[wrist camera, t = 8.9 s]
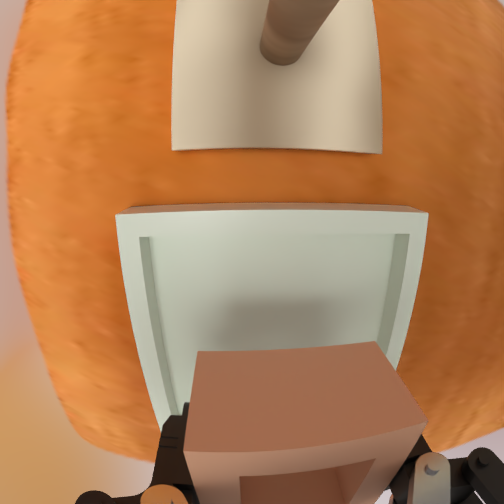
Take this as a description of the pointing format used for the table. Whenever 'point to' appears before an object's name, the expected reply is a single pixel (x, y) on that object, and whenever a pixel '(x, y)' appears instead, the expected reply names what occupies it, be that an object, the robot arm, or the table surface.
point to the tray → (264, 281)
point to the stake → (276, 76)
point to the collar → (298, 425)
